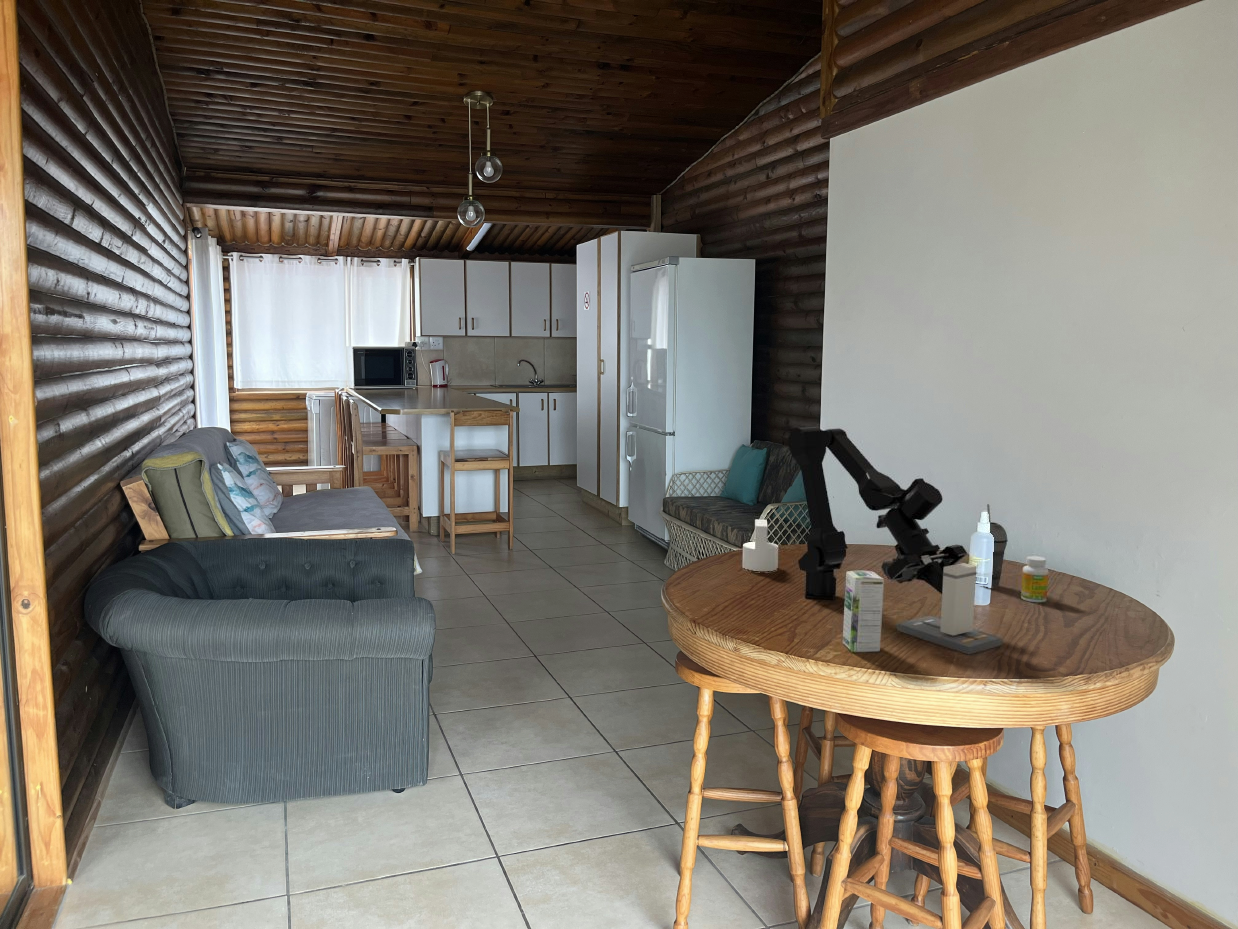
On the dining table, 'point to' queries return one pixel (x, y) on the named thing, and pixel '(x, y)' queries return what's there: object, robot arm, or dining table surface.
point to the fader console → (962, 642)
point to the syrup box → (863, 611)
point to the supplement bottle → (1034, 580)
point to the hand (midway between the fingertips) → (950, 597)
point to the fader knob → (958, 599)
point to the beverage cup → (997, 549)
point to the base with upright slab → (760, 550)
